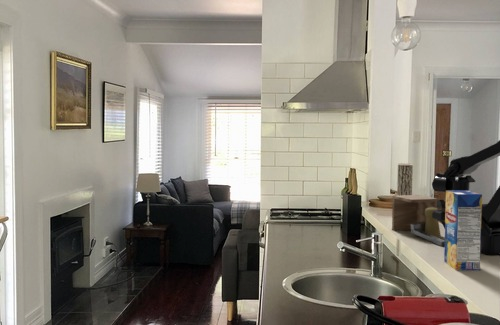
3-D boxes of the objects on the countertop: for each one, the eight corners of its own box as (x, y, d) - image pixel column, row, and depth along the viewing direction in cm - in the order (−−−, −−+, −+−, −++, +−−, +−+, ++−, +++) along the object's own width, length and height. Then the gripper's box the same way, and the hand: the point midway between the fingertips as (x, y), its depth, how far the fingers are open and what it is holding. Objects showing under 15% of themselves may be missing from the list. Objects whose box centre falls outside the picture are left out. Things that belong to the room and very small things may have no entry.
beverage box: (455, 270, 156) (457, 194, 155) (444, 261, 167) (445, 190, 166) (480, 270, 155) (482, 194, 154) (466, 261, 166) (468, 190, 165)
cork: (441, 238, 202) (441, 209, 200) (425, 238, 203) (424, 210, 201) (439, 233, 208) (438, 205, 206) (423, 233, 209) (422, 206, 207)
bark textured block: (393, 215, 259) (394, 163, 258) (404, 214, 262) (405, 163, 261) (403, 217, 253) (404, 164, 252) (414, 216, 256) (415, 164, 255)
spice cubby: (437, 234, 211) (437, 198, 210) (410, 235, 208) (411, 199, 207) (417, 228, 224) (417, 194, 223) (392, 229, 221) (392, 195, 220)
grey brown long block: (471, 245, 188) (471, 222, 186) (448, 249, 185) (447, 226, 184) (432, 228, 210) (431, 208, 208) (410, 232, 207) (410, 212, 206)
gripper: (468, 191, 198) (466, 233, 199) (423, 192, 193) (422, 235, 194) (489, 194, 188) (487, 239, 189) (442, 196, 183) (441, 241, 184)
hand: (459, 238), depth 189 cm, fingers open, 8 cm apart
